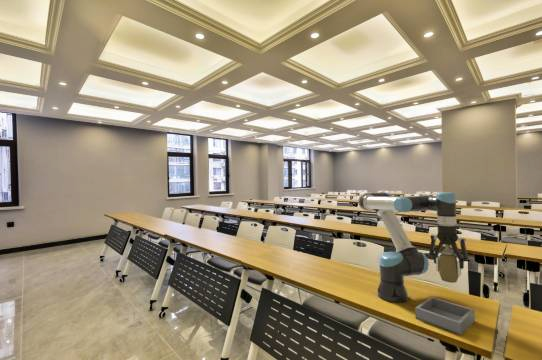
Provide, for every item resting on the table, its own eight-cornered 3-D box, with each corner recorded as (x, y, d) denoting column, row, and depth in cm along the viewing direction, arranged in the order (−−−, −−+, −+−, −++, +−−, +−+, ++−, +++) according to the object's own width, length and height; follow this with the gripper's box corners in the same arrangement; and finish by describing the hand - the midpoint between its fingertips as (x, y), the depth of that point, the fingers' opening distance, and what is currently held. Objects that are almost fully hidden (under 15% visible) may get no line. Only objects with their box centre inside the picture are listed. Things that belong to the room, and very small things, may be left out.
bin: (415, 318, 117) (415, 307, 117) (432, 306, 128) (431, 296, 128) (460, 335, 103) (460, 323, 103) (474, 321, 114) (474, 309, 114)
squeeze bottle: (442, 283, 118) (440, 244, 119) (436, 276, 126) (435, 240, 126) (462, 284, 116) (461, 245, 116) (455, 278, 124) (454, 241, 124)
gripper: (420, 223, 127) (421, 269, 127) (471, 228, 111) (473, 281, 111) (425, 221, 132) (427, 265, 131) (476, 226, 116) (478, 276, 115)
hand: (448, 272), depth 121 cm, fingers closed on squeeze bottle, 8 cm apart
